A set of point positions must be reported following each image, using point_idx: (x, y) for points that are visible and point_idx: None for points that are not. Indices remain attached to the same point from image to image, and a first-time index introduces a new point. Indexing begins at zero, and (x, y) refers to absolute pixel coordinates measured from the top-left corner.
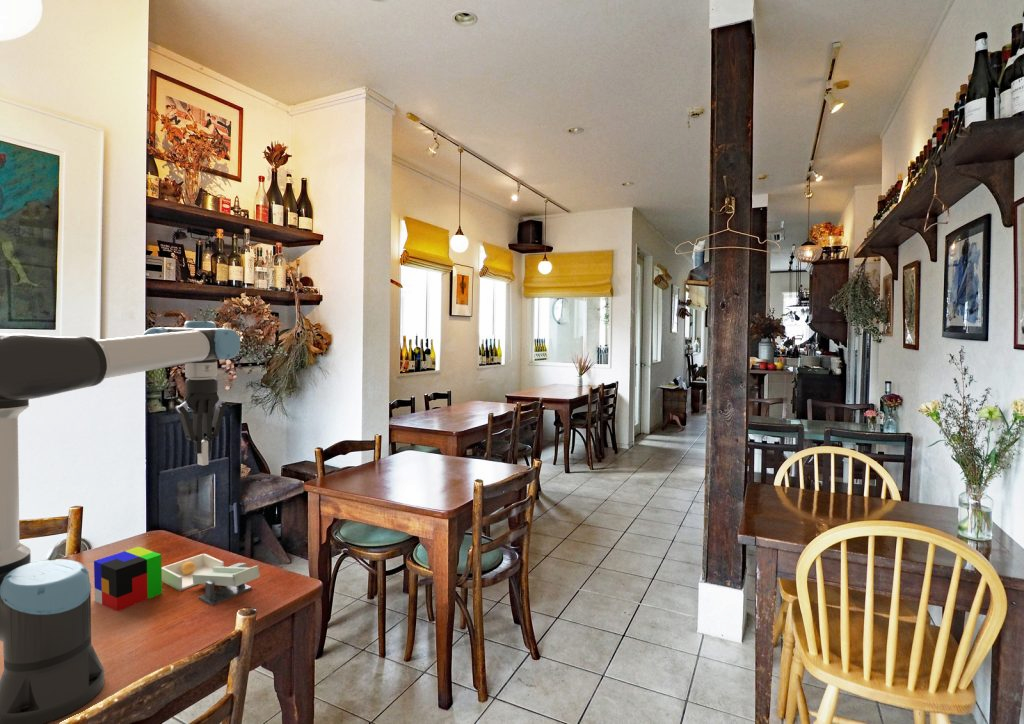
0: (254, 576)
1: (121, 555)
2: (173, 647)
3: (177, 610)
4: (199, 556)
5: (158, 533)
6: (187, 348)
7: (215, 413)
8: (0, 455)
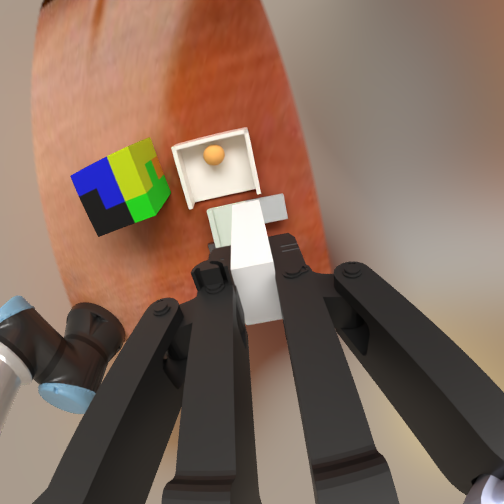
0: None
1: (102, 176)
2: None
3: (181, 256)
4: (237, 134)
5: None
6: None
7: (453, 432)
8: None
